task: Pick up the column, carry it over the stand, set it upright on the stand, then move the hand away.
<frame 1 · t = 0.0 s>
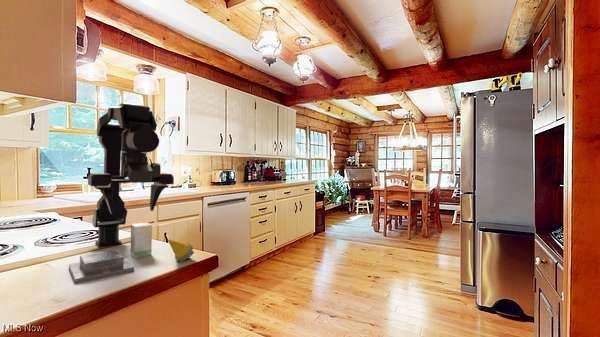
hand: (132, 212, 75), 15 cm above the counter, fingers open, 9 cm apart
yellow-green tapered piece: (181, 261, 82), on the counter
stand: (101, 269, 74), on the counter
column: (140, 254, 86), on the counter
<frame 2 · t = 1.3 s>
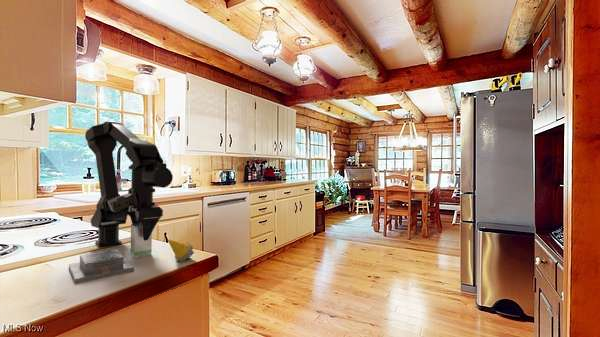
hand: (141, 236, 86), 5 cm above the counter, fingers open, 9 cm apart
nothing on the counter moved.
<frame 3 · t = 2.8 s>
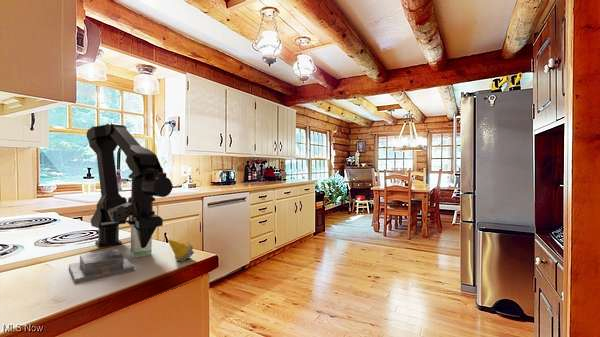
hand: (141, 245, 86), 3 cm above the counter, fingers closed on column, 4 cm apart
column: (140, 254, 86), on the counter, touching gripper
everything else where it was.
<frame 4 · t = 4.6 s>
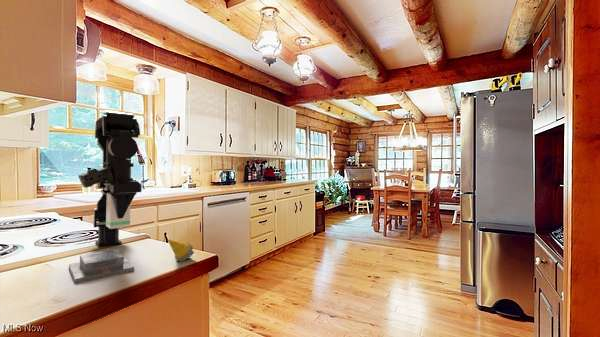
hand: (117, 217, 77), 13 cm above the counter, fingers closed on column, 4 cm apart
column: (117, 226, 78), point 10 cm above the counter, touching gripper
everything else where it was.
when the fingers open (7 cm above the counter, at t = 6.6 s): column stays where it is, resting on stand.
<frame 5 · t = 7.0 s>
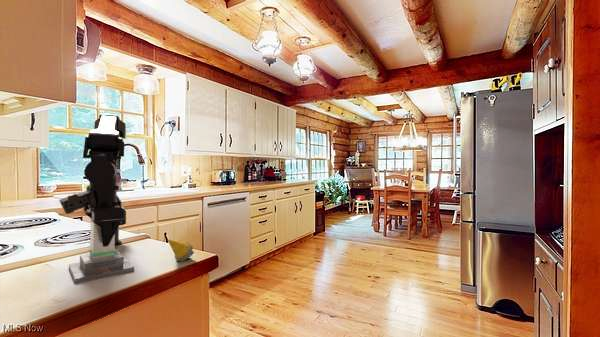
hand: (102, 242, 74), 7 cm above the counter, fingers open, 8 cm apart
column: (102, 255, 74), point 3 cm above the counter, touching stand
everything else where it was.
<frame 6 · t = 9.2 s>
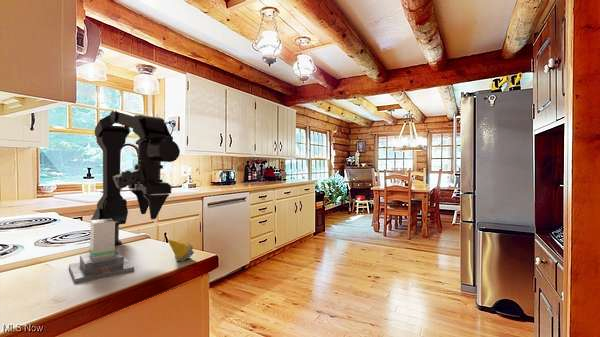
hand: (148, 216, 81), 12 cm above the counter, fingers open, 9 cm apart
nothing on the counter moved.
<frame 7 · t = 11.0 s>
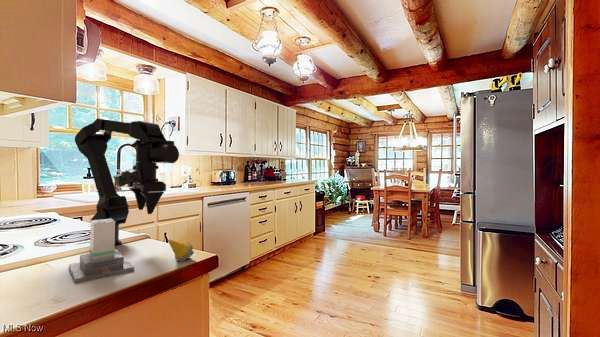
hand: (145, 211, 90), 12 cm above the counter, fingers open, 9 cm apart
nothing on the counter moved.
at the end: column 0.1 cm off-centre on the stand, point 3.5 cm above the stand's base; column tilted 0°; the gripper is holding nothing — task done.
